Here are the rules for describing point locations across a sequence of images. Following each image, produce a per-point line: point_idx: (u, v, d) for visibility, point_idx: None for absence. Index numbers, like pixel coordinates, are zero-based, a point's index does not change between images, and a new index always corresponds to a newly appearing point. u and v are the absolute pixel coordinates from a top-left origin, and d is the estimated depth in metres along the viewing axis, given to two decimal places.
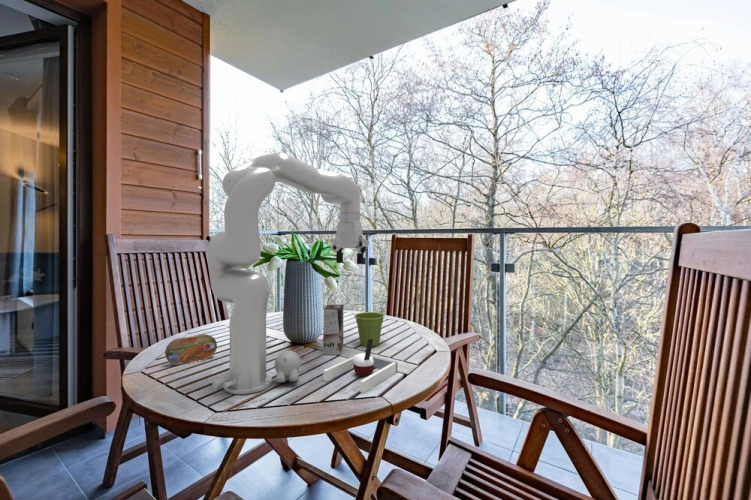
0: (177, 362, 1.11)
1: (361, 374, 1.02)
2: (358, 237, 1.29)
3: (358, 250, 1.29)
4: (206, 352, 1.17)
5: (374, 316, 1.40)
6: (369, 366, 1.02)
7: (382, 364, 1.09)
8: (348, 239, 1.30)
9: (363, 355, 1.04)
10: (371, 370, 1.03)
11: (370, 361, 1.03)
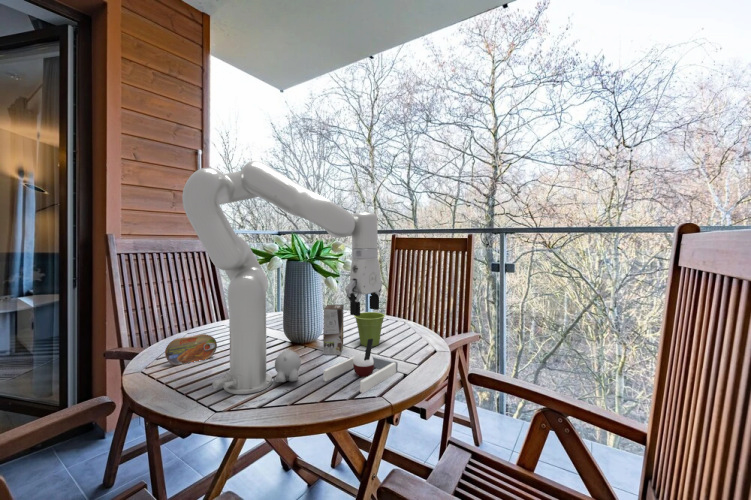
0: (177, 362, 1.11)
1: (361, 374, 1.02)
2: None
3: (378, 293, 1.07)
4: (206, 352, 1.17)
5: (374, 316, 1.40)
6: (369, 366, 1.02)
7: (382, 364, 1.09)
8: (375, 281, 1.04)
9: (363, 355, 1.04)
10: (371, 370, 1.03)
11: (370, 361, 1.03)
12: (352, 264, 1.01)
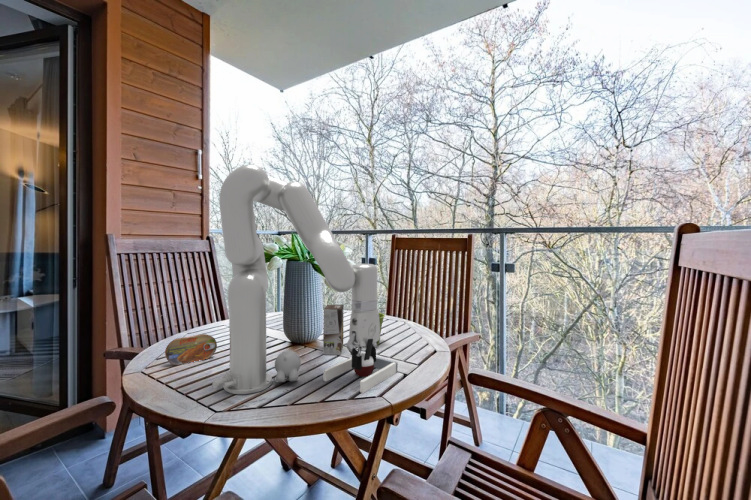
0: (177, 362, 1.11)
1: (361, 374, 1.02)
2: None
3: (375, 345, 1.07)
4: (206, 352, 1.17)
5: None
6: (369, 366, 1.02)
7: (382, 364, 1.09)
8: (374, 332, 1.04)
9: (363, 355, 1.04)
10: (371, 370, 1.03)
11: (370, 361, 1.03)
12: (352, 316, 1.01)
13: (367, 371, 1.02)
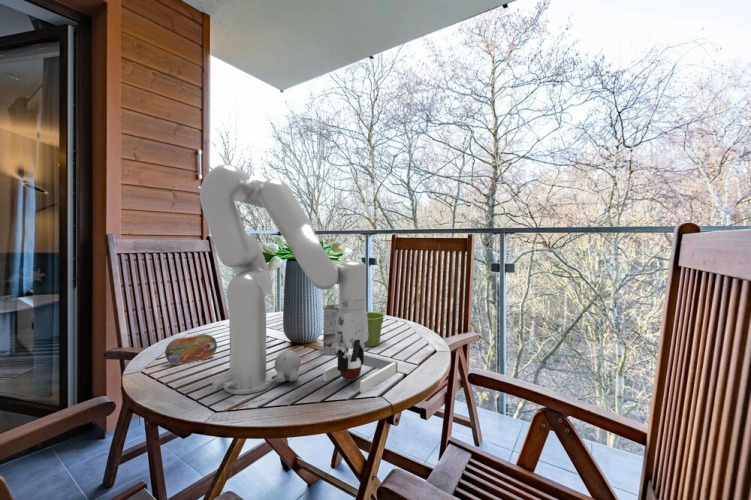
0: (177, 362, 1.11)
1: (347, 376, 0.97)
2: None
3: (363, 346, 1.02)
4: (206, 352, 1.17)
5: (374, 316, 1.40)
6: (355, 368, 0.98)
7: (382, 364, 1.09)
8: (362, 333, 0.99)
9: (350, 357, 0.99)
10: (358, 372, 0.98)
11: (357, 363, 0.98)
12: (338, 316, 0.96)
13: (354, 373, 0.97)
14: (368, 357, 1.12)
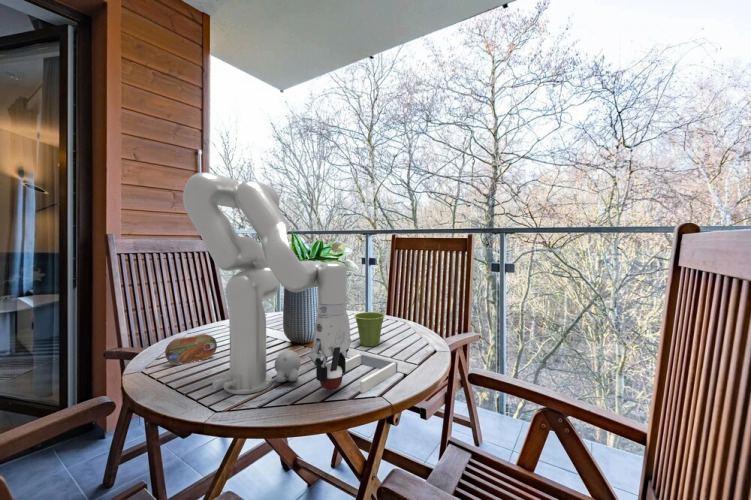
0: (177, 362, 1.11)
1: (327, 387, 0.90)
2: None
3: (344, 354, 0.95)
4: (206, 352, 1.17)
5: (374, 316, 1.40)
6: (336, 378, 0.90)
7: (382, 364, 1.09)
8: (343, 339, 0.92)
9: (330, 365, 0.92)
10: (338, 382, 0.91)
11: (337, 372, 0.91)
12: (316, 321, 0.89)
13: (334, 384, 0.90)
14: (368, 357, 1.12)
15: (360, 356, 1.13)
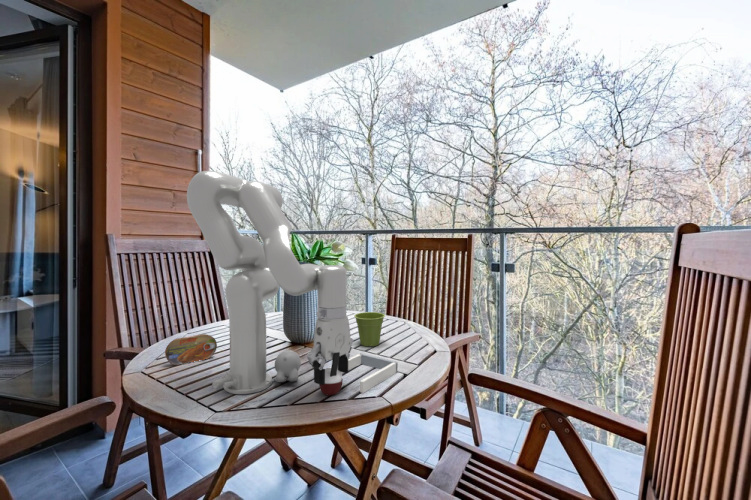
0: (177, 362, 1.11)
1: (327, 392, 0.90)
2: None
3: (347, 354, 0.96)
4: (206, 352, 1.17)
5: (374, 316, 1.40)
6: (335, 383, 0.90)
7: (382, 364, 1.09)
8: (343, 343, 0.92)
9: (329, 370, 0.92)
10: (338, 387, 0.91)
11: (337, 377, 0.91)
12: (316, 325, 0.89)
13: (333, 389, 0.90)
14: (368, 357, 1.12)
15: (360, 356, 1.13)
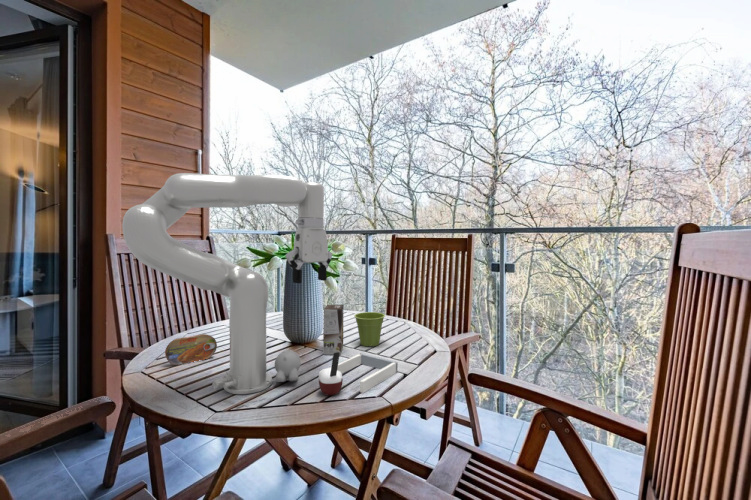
0: (177, 362, 1.11)
1: (327, 392, 0.90)
2: None
3: (325, 264, 1.09)
4: (206, 352, 1.17)
5: (374, 316, 1.40)
6: (335, 383, 0.90)
7: (382, 364, 1.09)
8: (320, 251, 1.05)
9: (329, 370, 0.92)
10: (338, 387, 0.91)
11: (337, 377, 0.91)
12: (296, 233, 1.02)
13: (333, 389, 0.90)
14: (368, 357, 1.12)
15: (360, 356, 1.13)
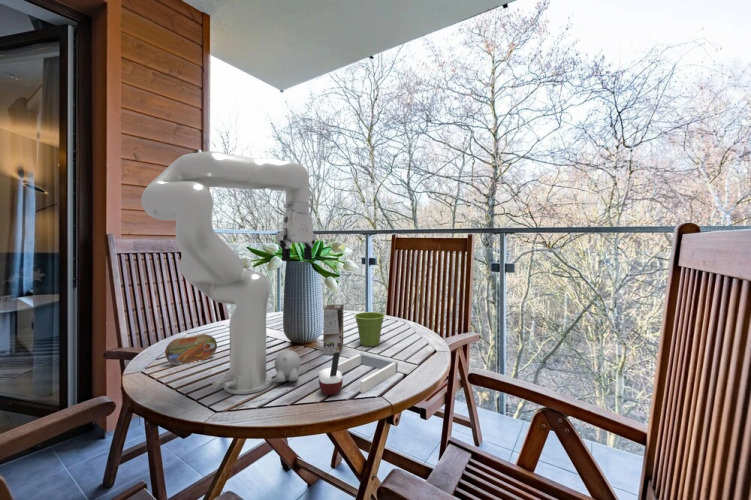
0: (177, 362, 1.11)
1: (327, 392, 0.90)
2: None
3: (311, 244, 1.20)
4: (206, 352, 1.17)
5: (374, 316, 1.40)
6: (335, 383, 0.90)
7: (382, 364, 1.09)
8: (306, 232, 1.16)
9: (329, 370, 0.92)
10: (338, 387, 0.91)
11: (337, 377, 0.91)
12: (284, 216, 1.13)
13: (333, 389, 0.90)
14: (368, 357, 1.12)
15: (360, 356, 1.13)
